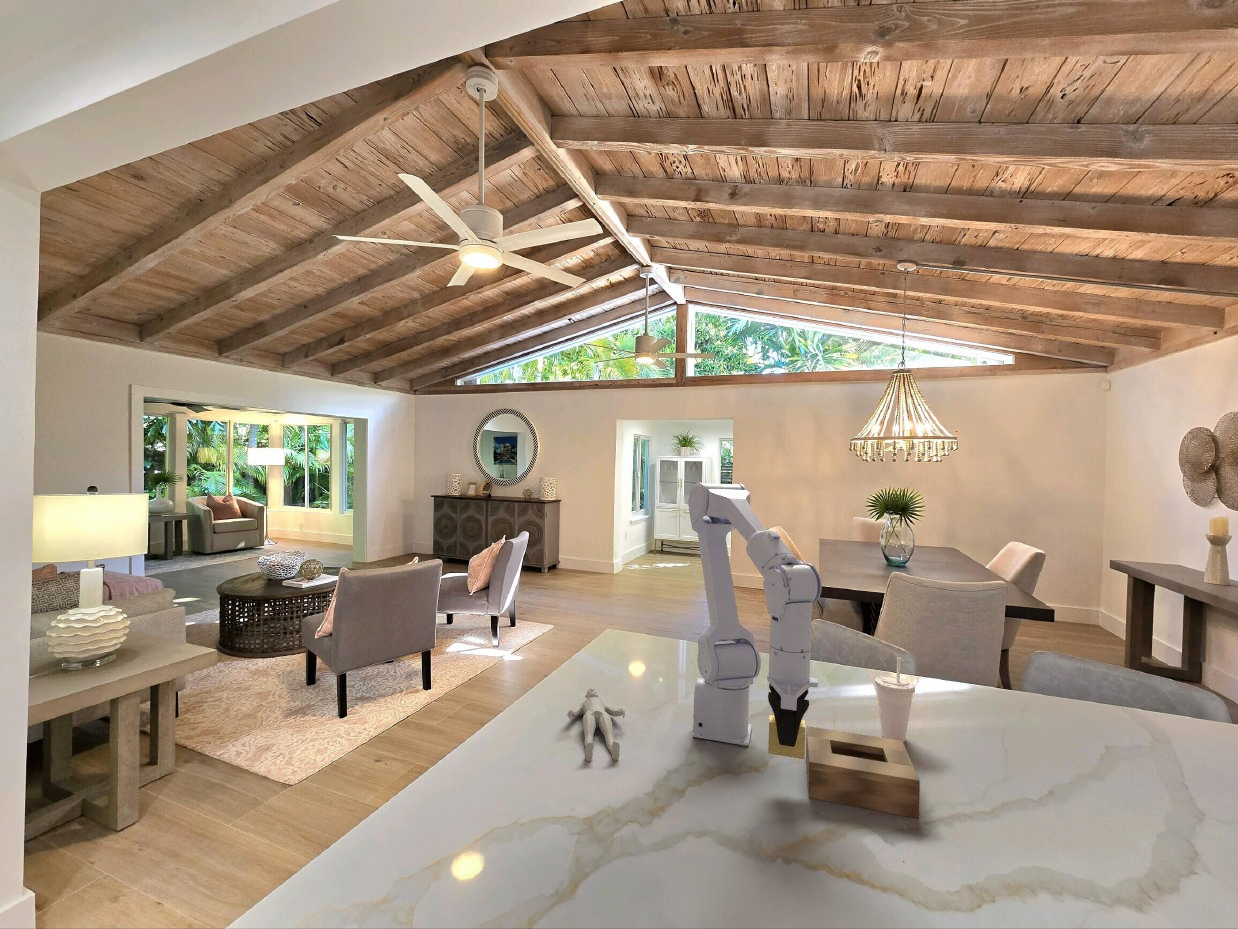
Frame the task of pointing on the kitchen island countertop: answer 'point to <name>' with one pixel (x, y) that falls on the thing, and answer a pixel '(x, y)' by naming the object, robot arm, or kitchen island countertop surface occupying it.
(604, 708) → the male figure
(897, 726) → the smoothie
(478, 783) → the kitchen island countertop surface
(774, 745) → the block
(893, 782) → the brown rectangular hollow block
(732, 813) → the kitchen island countertop surface
